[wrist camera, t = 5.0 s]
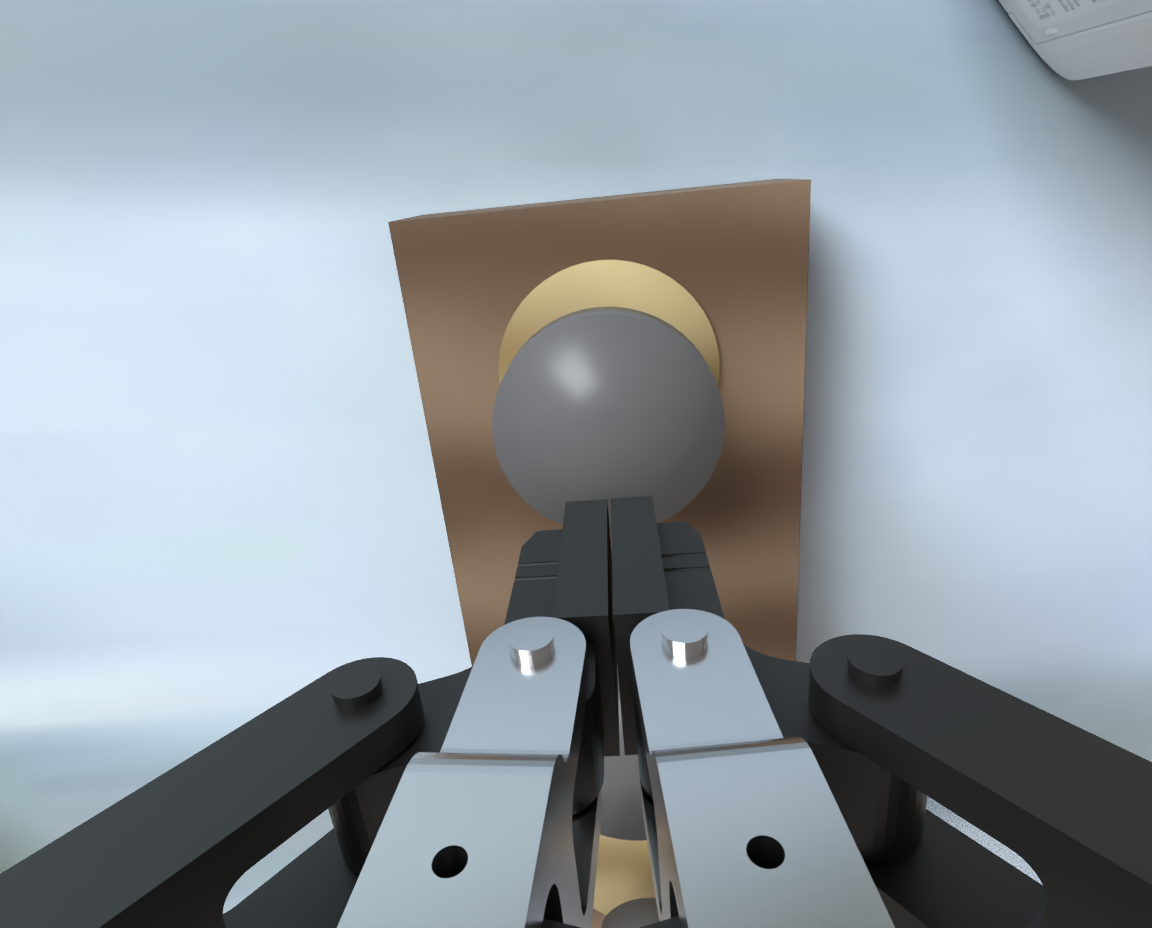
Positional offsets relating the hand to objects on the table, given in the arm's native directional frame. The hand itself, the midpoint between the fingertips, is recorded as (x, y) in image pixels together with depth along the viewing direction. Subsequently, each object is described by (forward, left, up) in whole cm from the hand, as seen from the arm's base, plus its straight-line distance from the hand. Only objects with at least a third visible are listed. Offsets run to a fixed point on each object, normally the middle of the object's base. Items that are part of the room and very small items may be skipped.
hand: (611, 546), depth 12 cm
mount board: (-9, -5, -14) cm, 18 cm away
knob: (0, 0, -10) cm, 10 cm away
